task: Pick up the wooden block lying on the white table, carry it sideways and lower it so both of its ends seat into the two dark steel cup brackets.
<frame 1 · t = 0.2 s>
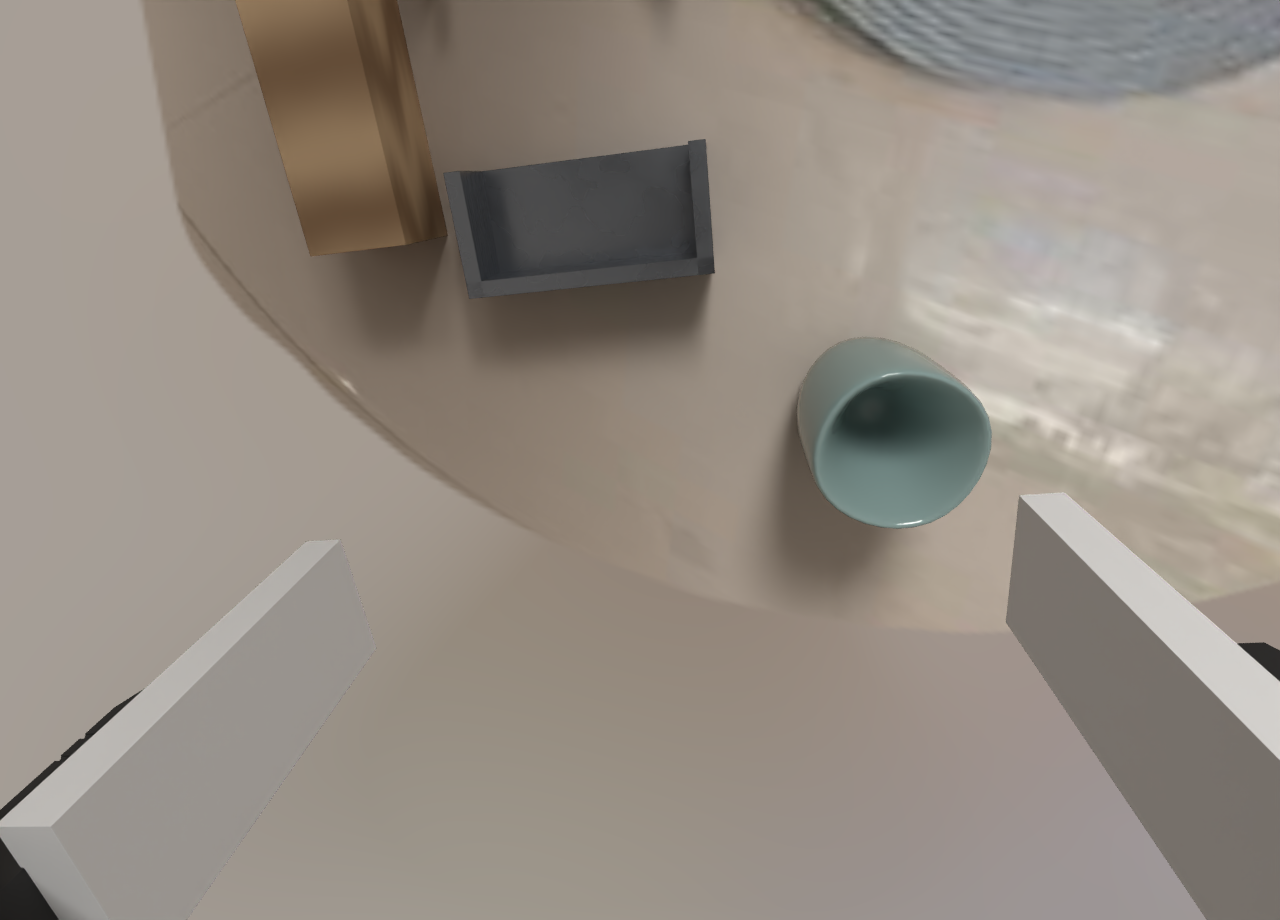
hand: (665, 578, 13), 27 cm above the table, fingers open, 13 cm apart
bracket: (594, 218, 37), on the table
cup: (854, 388, 39), on the table
wooden block: (369, 82, 35), on the table
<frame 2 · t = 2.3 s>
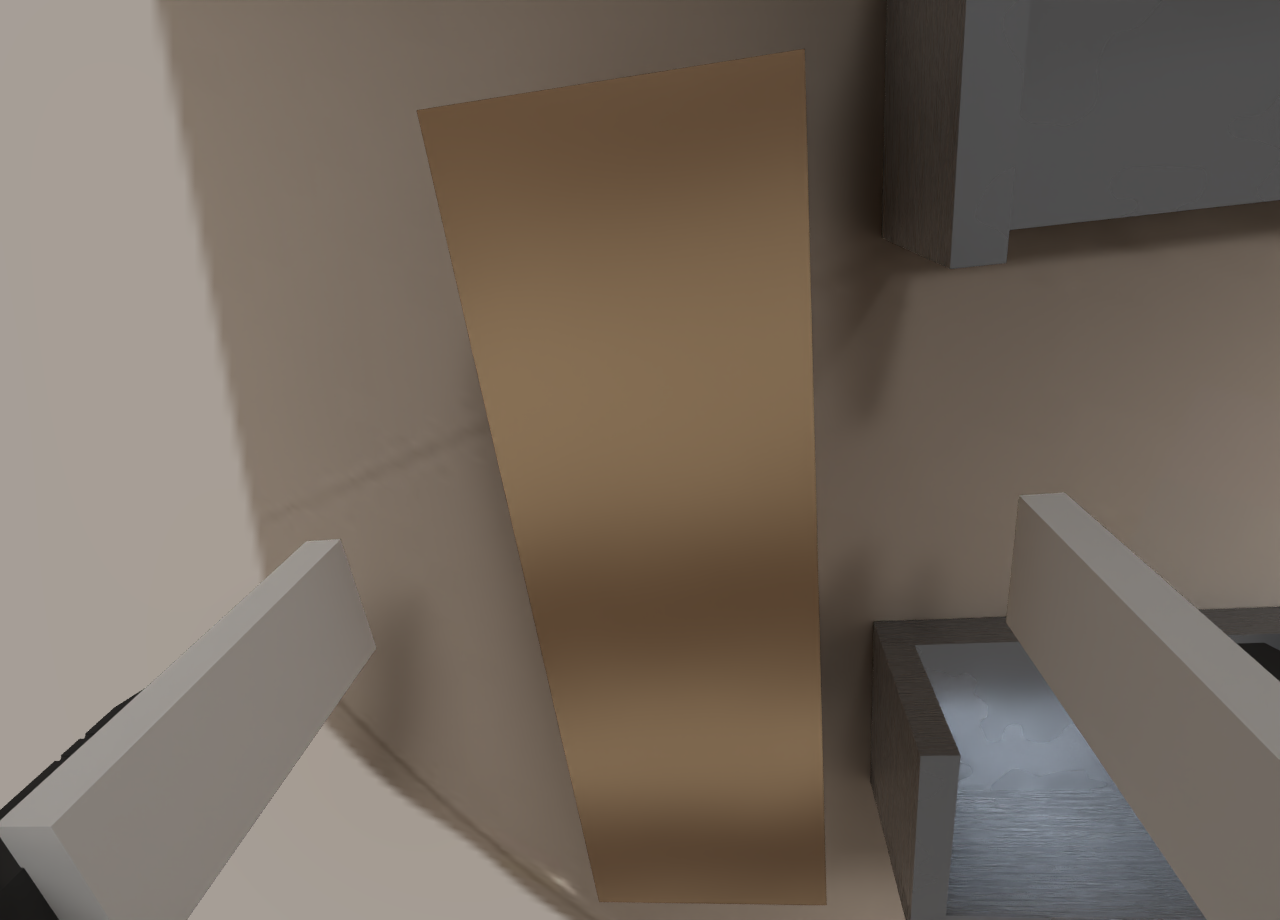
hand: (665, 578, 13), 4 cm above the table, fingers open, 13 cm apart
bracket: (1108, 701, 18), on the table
wooden block: (683, 462, 17), on the table
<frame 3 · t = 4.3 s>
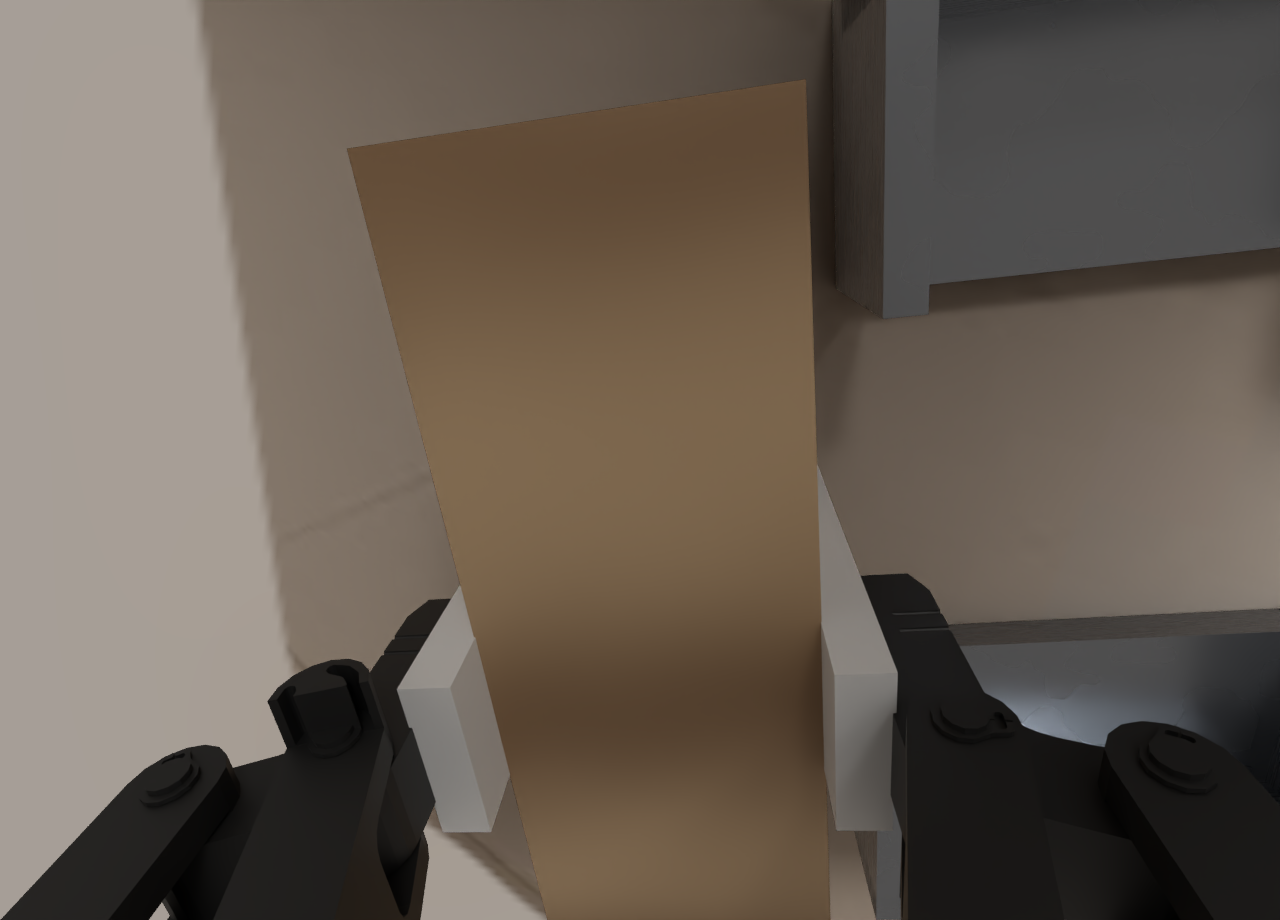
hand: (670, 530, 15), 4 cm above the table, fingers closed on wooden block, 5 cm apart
wooden block: (672, 522, 16), point 3 cm above the table, touching gripper
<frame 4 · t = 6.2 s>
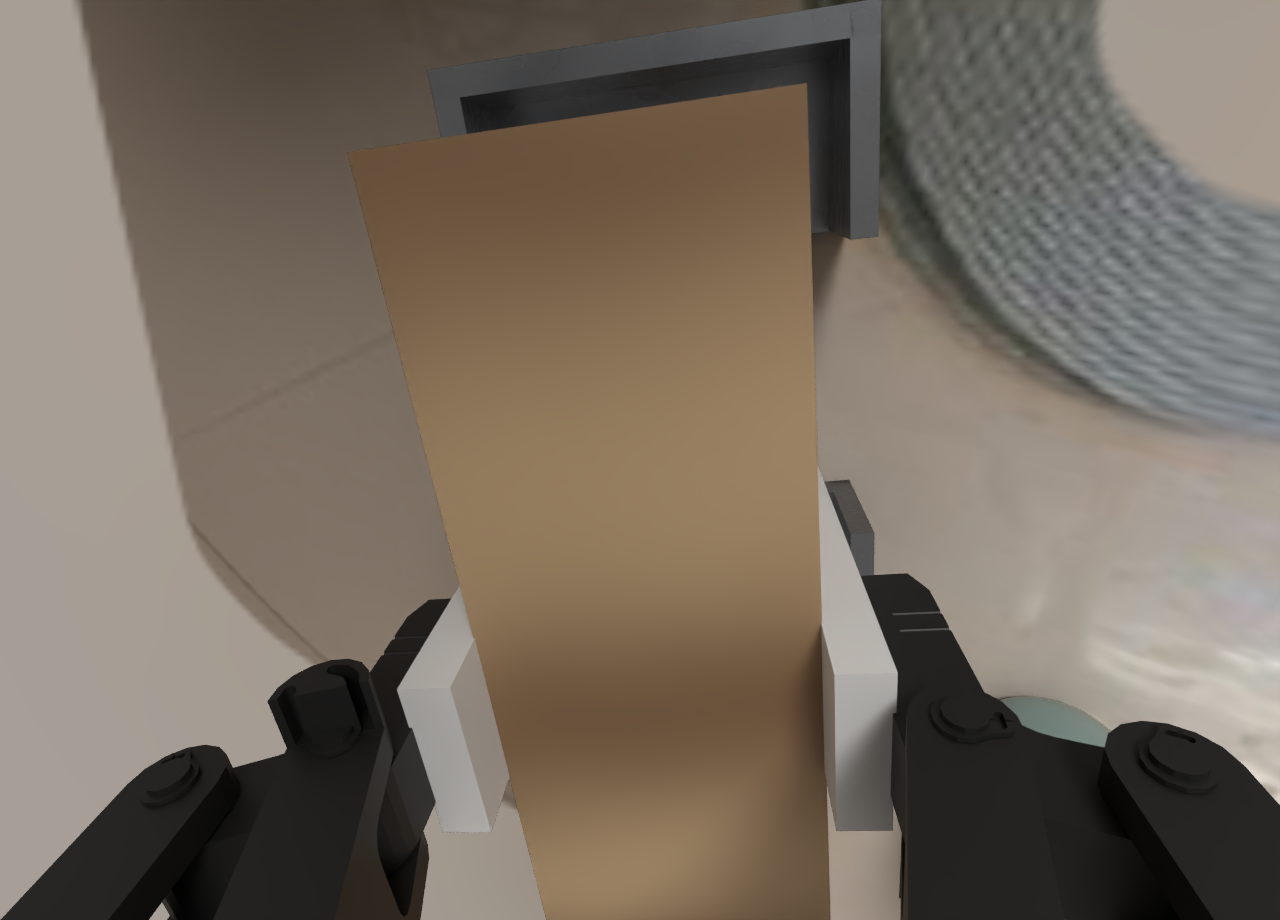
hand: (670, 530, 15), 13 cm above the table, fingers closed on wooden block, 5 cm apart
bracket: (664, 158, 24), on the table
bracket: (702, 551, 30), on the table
cup: (1013, 731, 32), on the table
wooden block: (672, 524, 16), point 12 cm above the table, touching gripper
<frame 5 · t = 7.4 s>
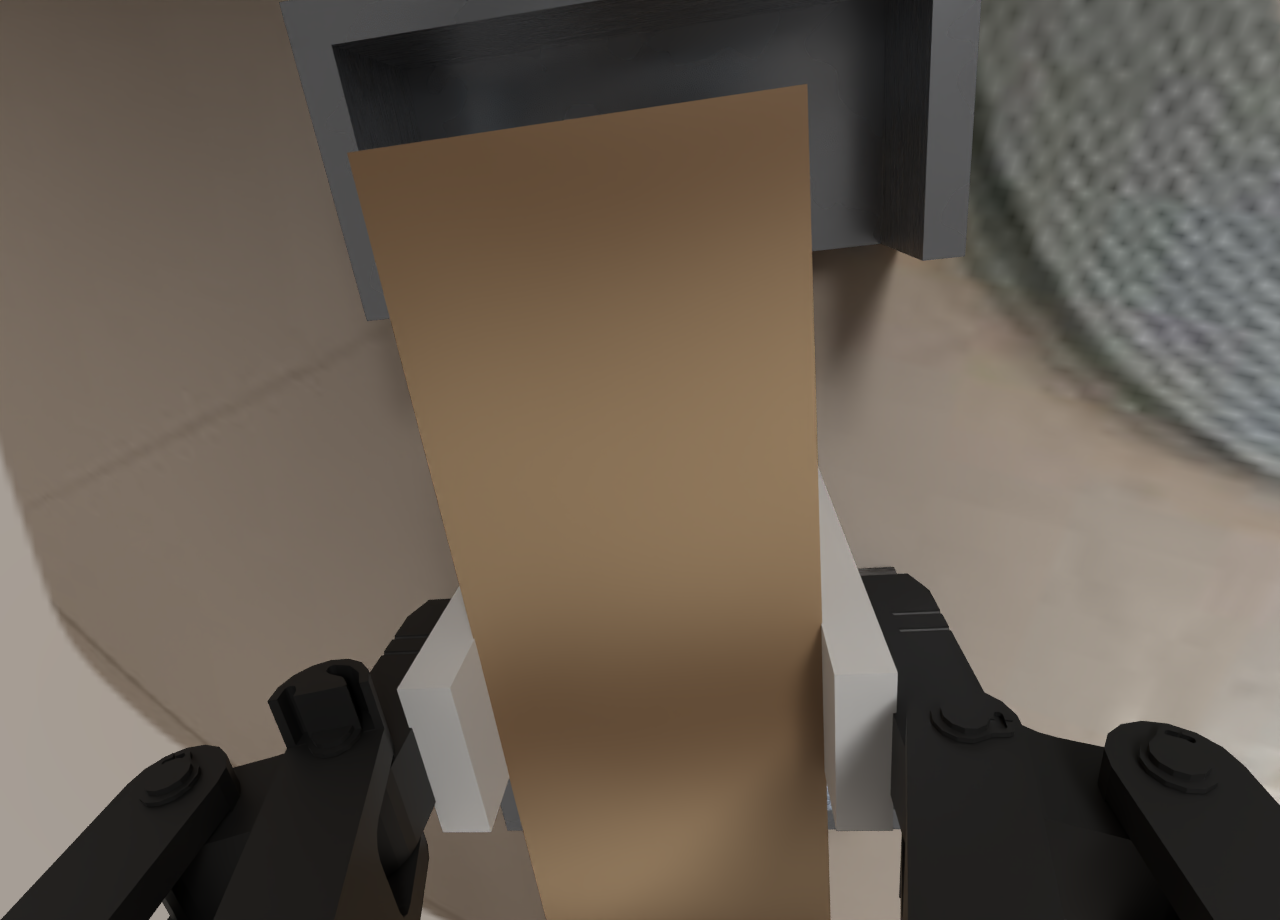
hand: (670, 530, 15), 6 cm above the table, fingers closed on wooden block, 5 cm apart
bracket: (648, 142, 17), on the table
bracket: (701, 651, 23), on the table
wooden block: (672, 524, 16), point 5 cm above the table, touching gripper
when the fingers open (3 cm above the table, at t = 8.1 s): wooden block drops 2 cm, resting on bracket, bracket.
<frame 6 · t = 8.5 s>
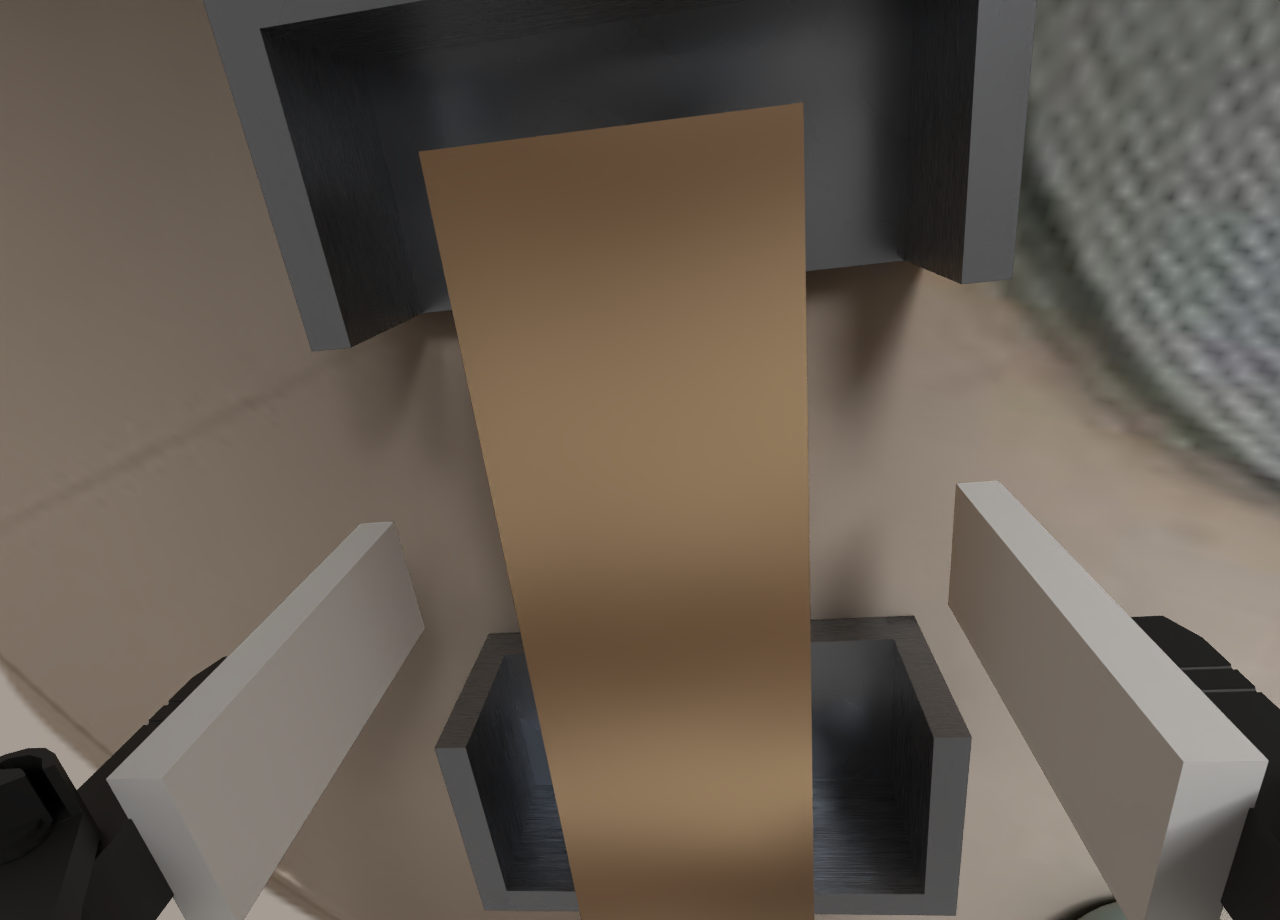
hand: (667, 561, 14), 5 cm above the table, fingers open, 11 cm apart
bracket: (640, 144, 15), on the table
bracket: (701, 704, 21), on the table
wooden block: (676, 490, 17), point 1 cm above the table, touching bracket, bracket
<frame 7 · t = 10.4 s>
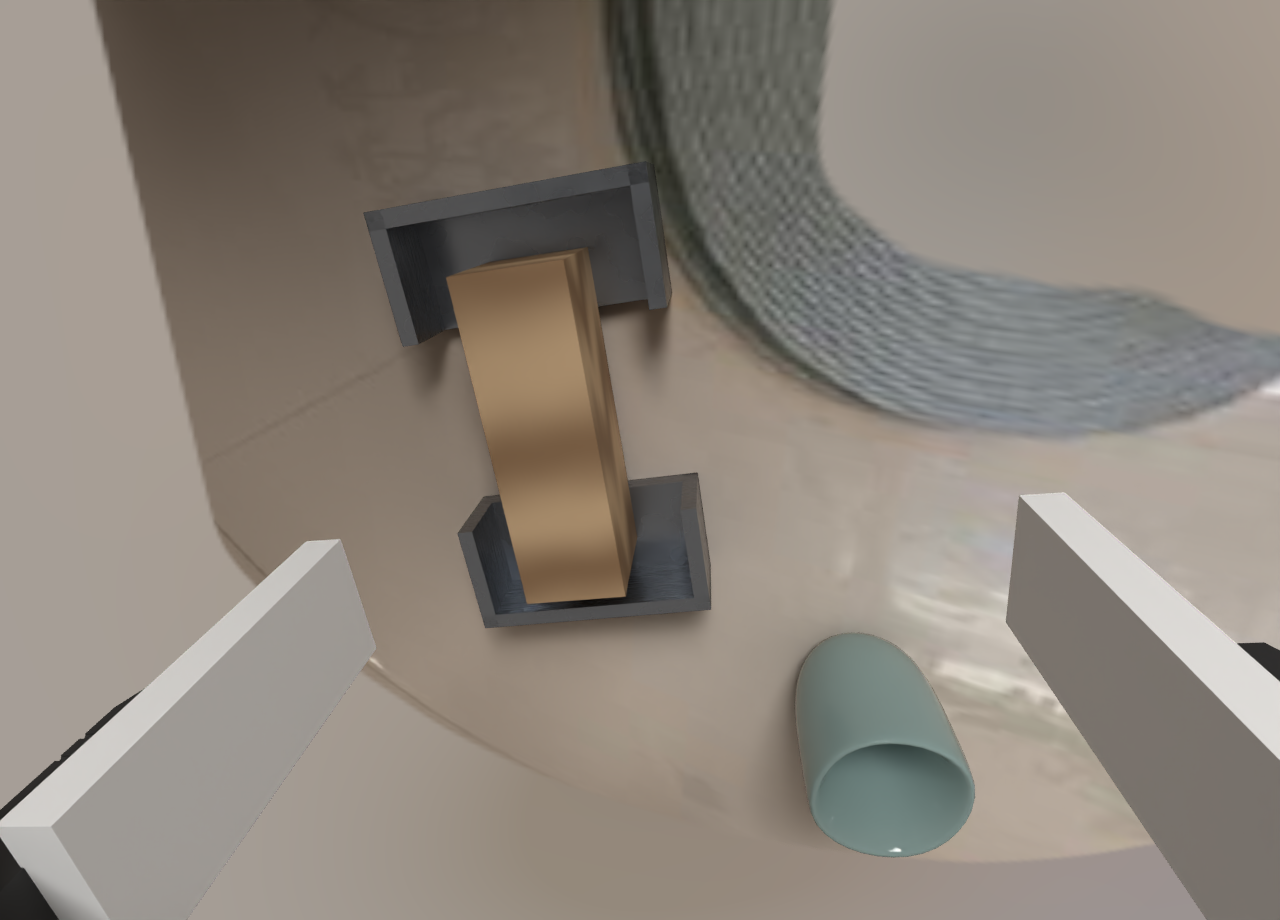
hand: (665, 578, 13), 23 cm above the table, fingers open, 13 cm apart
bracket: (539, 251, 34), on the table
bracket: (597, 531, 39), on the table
cup: (850, 663, 42), on the table
wooden block: (568, 409, 36), point 1 cm above the table, touching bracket, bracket
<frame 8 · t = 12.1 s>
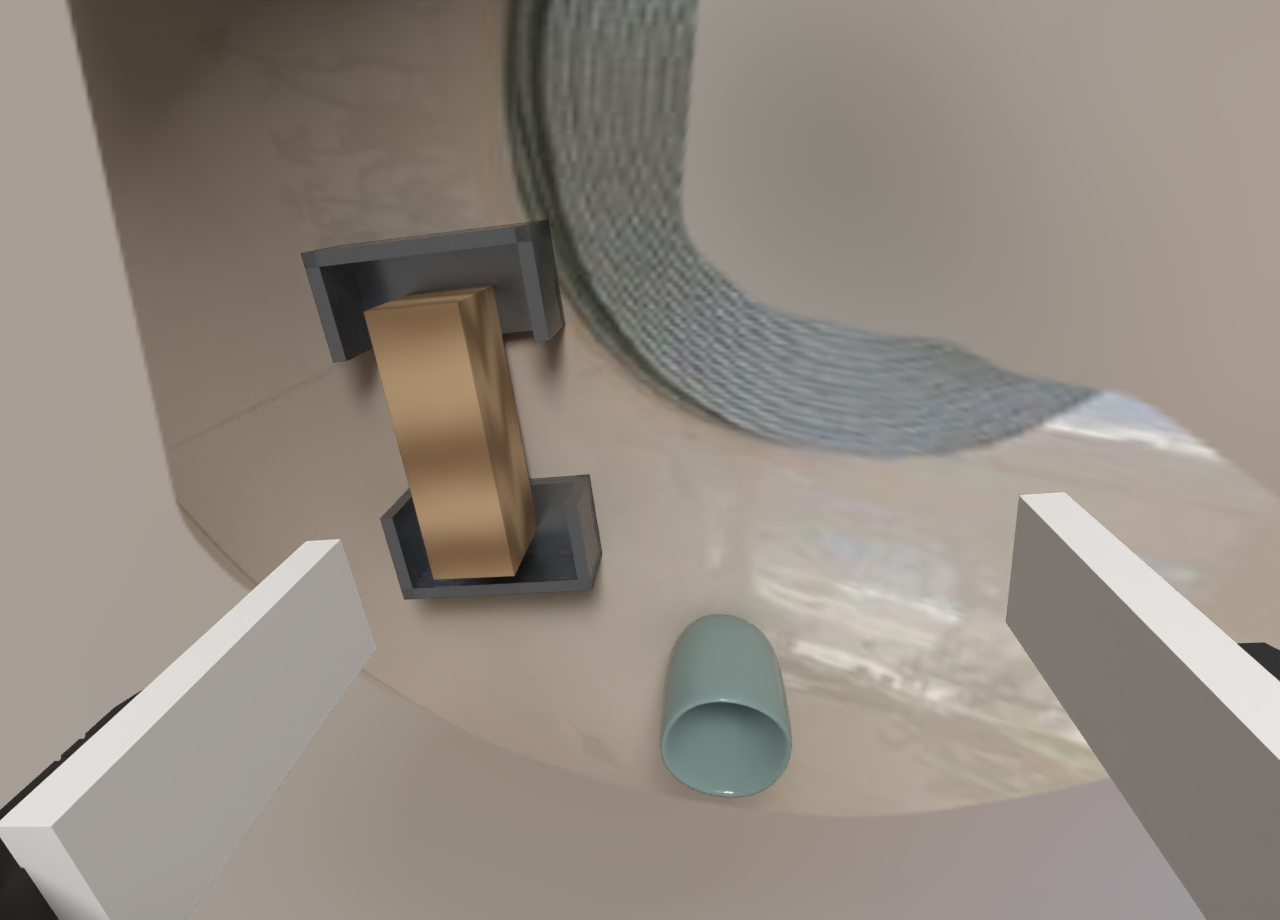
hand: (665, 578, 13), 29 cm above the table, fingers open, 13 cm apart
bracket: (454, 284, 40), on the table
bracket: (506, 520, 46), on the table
cup: (721, 640, 49), on the table
wooden block: (478, 417, 42), point 1 cm above the table, touching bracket, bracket
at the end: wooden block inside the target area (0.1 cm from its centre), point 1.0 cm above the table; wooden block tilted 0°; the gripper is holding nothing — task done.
